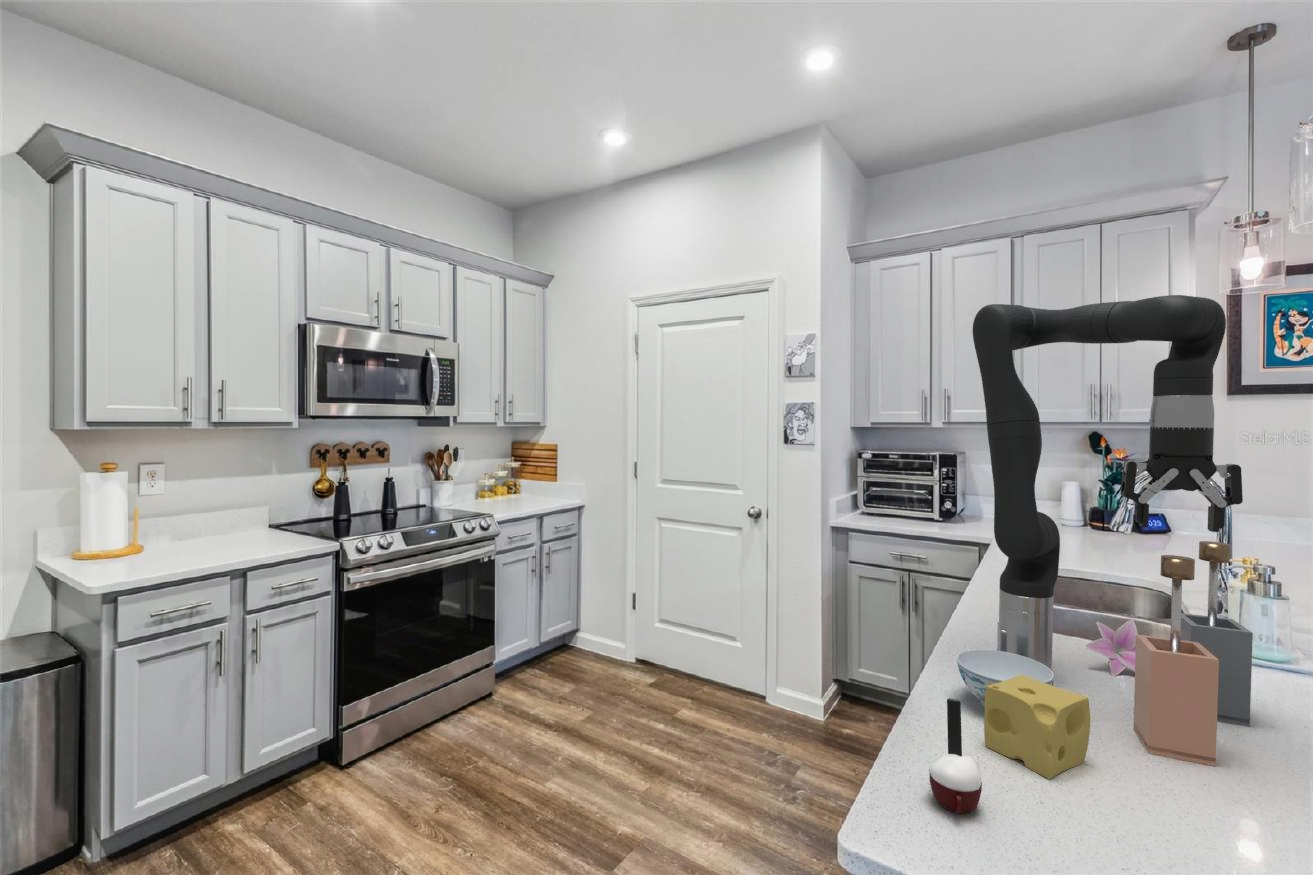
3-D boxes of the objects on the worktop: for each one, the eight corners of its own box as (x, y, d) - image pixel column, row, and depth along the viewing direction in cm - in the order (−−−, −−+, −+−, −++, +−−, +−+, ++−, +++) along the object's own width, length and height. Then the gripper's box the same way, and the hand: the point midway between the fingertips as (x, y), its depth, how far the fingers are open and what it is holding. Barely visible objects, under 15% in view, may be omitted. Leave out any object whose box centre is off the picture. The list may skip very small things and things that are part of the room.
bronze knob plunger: (1159, 663, 93) (1162, 559, 92) (1148, 652, 98) (1151, 553, 97) (1202, 670, 91) (1205, 563, 90) (1189, 658, 95) (1192, 556, 95)
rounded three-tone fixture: (969, 833, 75) (973, 741, 74) (917, 808, 79) (921, 721, 78) (991, 796, 82) (995, 711, 81) (943, 775, 86) (946, 695, 85)
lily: (1073, 671, 126) (1090, 640, 121) (1081, 636, 134) (1098, 606, 129) (1142, 703, 120) (1164, 672, 115) (1146, 664, 128) (1167, 633, 123)
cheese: (1050, 781, 85) (1051, 712, 85) (979, 745, 95) (980, 682, 94) (1090, 763, 90) (1092, 697, 90) (1019, 730, 100) (1020, 670, 99)
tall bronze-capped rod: (1198, 637, 105) (1201, 544, 104) (1187, 628, 109) (1190, 539, 109) (1237, 642, 102) (1240, 547, 102) (1224, 632, 107) (1227, 542, 107)
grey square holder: (1188, 716, 104) (1191, 625, 104) (1172, 697, 112) (1175, 612, 111) (1249, 726, 101) (1252, 632, 101) (1229, 706, 108) (1232, 618, 108)
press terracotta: (1148, 753, 93) (1150, 650, 92) (1133, 729, 100) (1136, 634, 99) (1215, 766, 89) (1218, 660, 89) (1195, 740, 96) (1198, 642, 96)
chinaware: (937, 697, 111) (938, 656, 111) (993, 684, 117) (994, 644, 117) (1013, 736, 97) (1014, 689, 97) (1072, 719, 103) (1074, 674, 103)
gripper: (1131, 425, 93) (1127, 528, 93) (1253, 425, 87) (1249, 537, 87) (1118, 424, 100) (1115, 521, 100) (1230, 425, 94) (1227, 529, 94)
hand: (1177, 528), depth 94 cm, fingers open, 8 cm apart
